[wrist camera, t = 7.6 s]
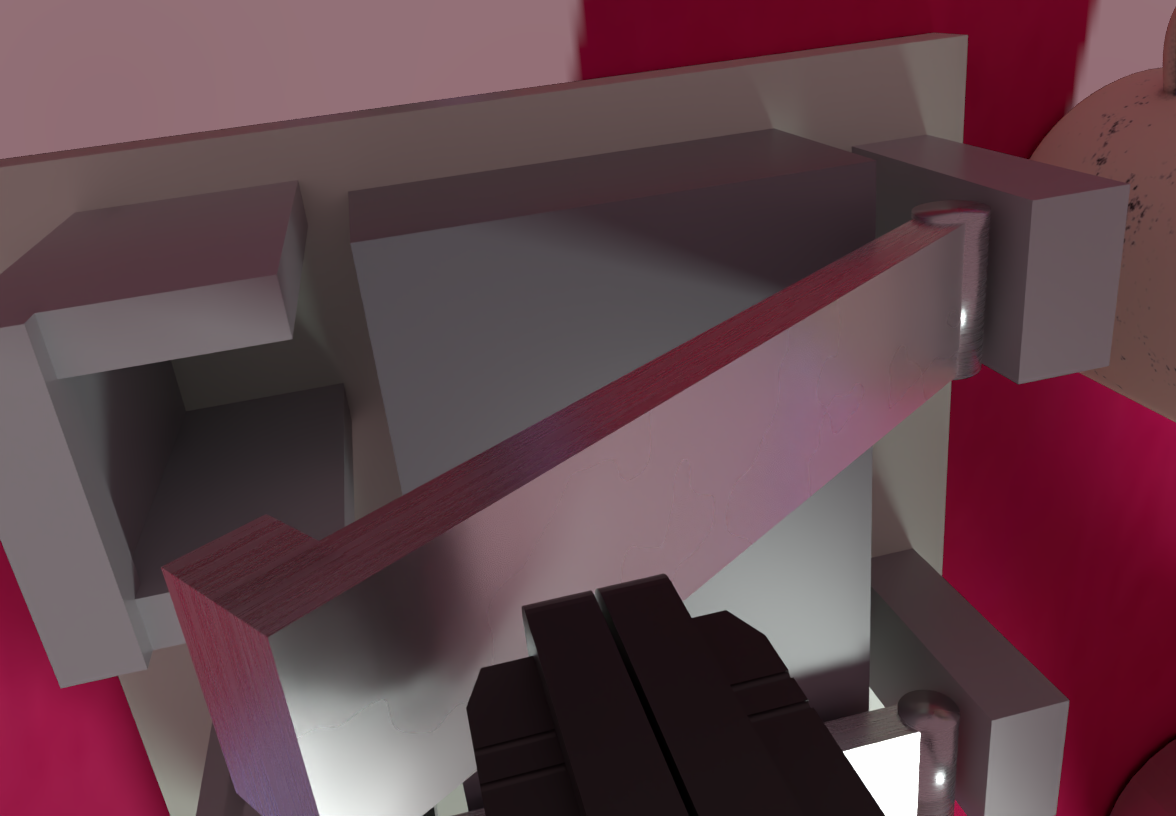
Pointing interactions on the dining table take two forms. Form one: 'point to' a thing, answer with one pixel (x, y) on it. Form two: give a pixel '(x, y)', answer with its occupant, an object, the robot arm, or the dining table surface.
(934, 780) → the grey hinged latch bar
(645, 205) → the base
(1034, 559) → the dining table surface
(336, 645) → the strap
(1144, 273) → the teacup with lid
